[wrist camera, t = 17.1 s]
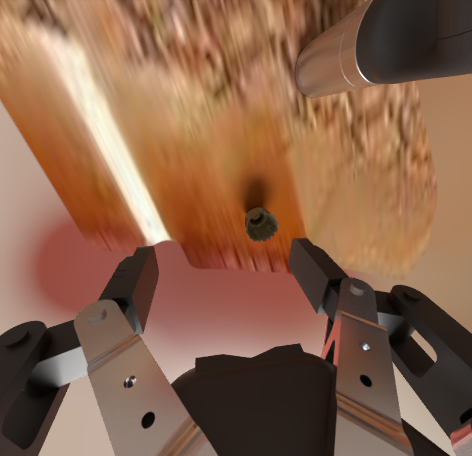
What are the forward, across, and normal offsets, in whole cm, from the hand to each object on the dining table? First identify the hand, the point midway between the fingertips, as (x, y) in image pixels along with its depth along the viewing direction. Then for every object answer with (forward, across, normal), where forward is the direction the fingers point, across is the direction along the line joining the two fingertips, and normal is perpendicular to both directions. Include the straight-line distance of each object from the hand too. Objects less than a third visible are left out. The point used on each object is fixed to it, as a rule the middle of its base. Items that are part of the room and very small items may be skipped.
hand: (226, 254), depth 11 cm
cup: (+36, -12, +14) cm, 41 cm away
